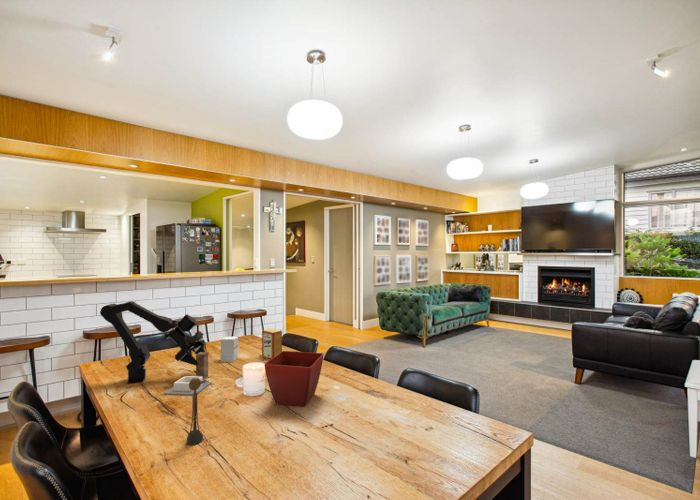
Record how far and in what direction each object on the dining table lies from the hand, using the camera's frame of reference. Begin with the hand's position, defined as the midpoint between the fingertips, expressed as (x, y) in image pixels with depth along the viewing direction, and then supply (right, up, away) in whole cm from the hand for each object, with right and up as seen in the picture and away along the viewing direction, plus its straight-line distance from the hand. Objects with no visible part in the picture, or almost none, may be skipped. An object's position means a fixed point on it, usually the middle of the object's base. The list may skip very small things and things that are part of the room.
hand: (202, 362), depth 167 cm
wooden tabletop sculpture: (+22, -7, -56) cm, 61 cm away
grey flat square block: (-1, -8, -13) cm, 15 cm away
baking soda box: (+26, -8, +33) cm, 43 cm away
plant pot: (+48, -8, -25) cm, 55 cm away
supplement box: (+3, -8, +29) cm, 30 cm away
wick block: (0, -8, 0) cm, 8 cm away
